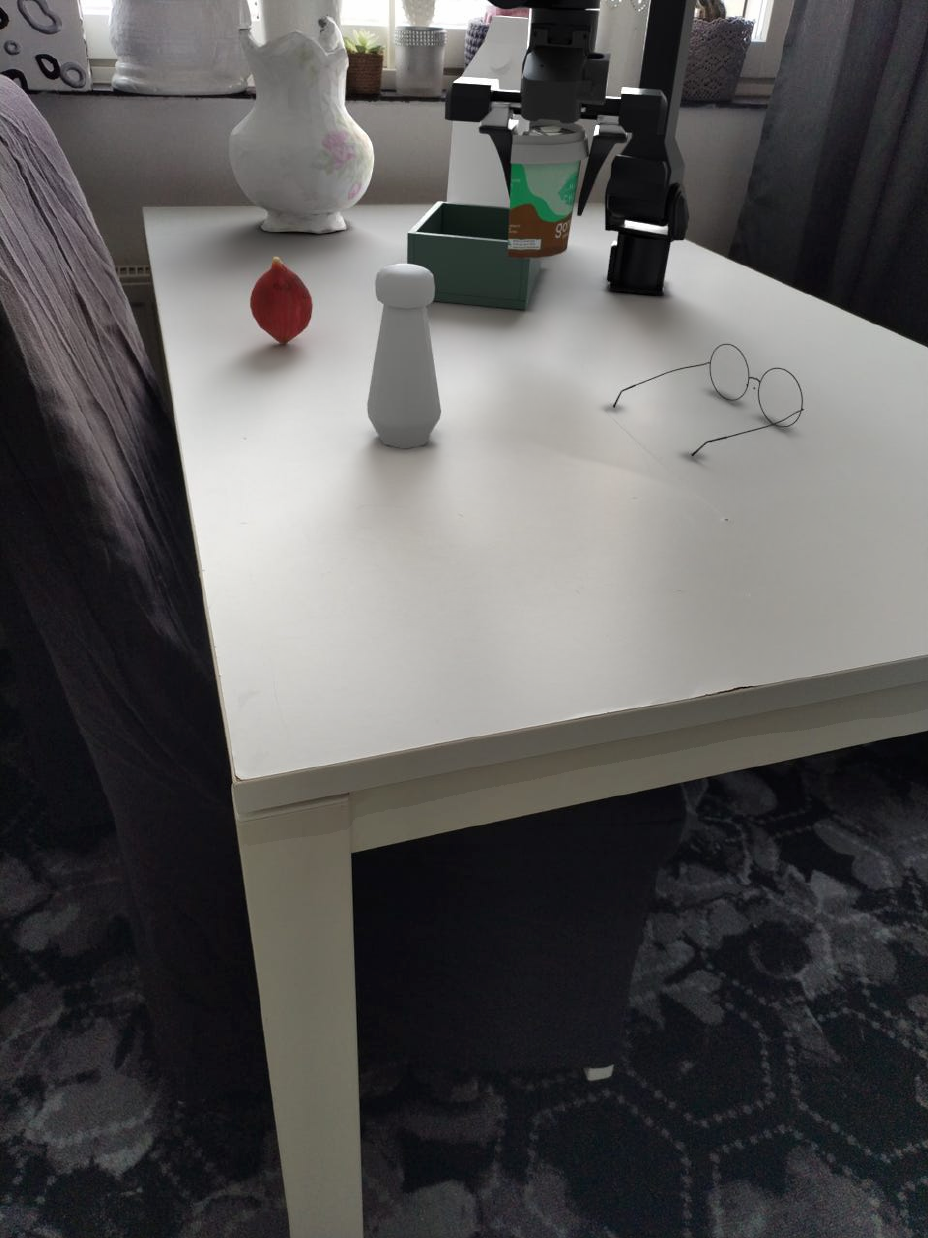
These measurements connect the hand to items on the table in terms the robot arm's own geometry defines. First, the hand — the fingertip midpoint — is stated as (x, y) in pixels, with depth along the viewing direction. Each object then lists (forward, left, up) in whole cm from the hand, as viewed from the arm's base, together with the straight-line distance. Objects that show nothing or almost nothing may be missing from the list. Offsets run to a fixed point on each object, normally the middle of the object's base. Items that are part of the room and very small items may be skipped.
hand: (546, 212), depth 82 cm
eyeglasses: (-16, +14, -13) cm, 25 cm away
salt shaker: (+8, +24, -13) cm, 29 cm away
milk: (+9, -43, -13) cm, 45 cm away
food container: (0, 0, -3) cm, 3 cm away
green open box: (+9, -21, -13) cm, 26 cm away
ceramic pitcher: (+37, -43, -13) cm, 58 cm away
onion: (+24, +6, -13) cm, 28 cm away
